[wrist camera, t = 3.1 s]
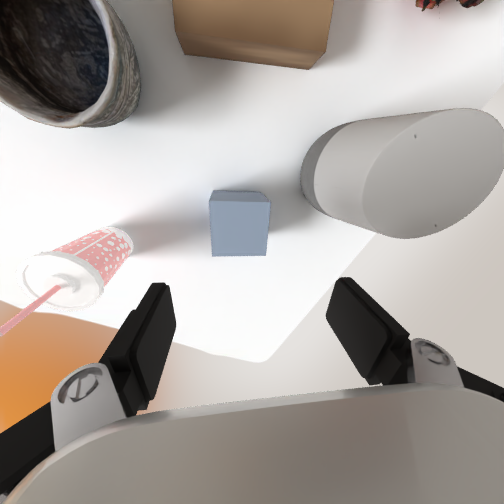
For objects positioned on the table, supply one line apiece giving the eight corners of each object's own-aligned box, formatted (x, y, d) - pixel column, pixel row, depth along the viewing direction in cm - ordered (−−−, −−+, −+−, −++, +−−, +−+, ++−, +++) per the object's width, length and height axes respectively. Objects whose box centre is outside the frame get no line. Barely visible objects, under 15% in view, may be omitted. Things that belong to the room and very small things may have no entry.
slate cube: (212, 190, 23) (209, 200, 18) (260, 191, 24) (270, 202, 18) (215, 235, 26) (212, 256, 20) (257, 235, 26) (265, 255, 21)
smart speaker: (279, 163, 22) (346, 171, 10) (347, 107, 20) (531, 33, 8) (315, 221, 26) (393, 279, 14) (374, 179, 25) (523, 202, 12)
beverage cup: (82, 251, 24) (-69, 351, 12) (93, 211, 22) (-74, 281, 10) (131, 269, 26) (48, 371, 14) (146, 234, 24) (63, 316, 12)
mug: (113, 157, 20) (25, 159, 11) (-37, 20, 15) (-436, -186, 6) (174, 86, 18) (125, 19, 9) (26, -103, 13) (-440, -705, 4)
